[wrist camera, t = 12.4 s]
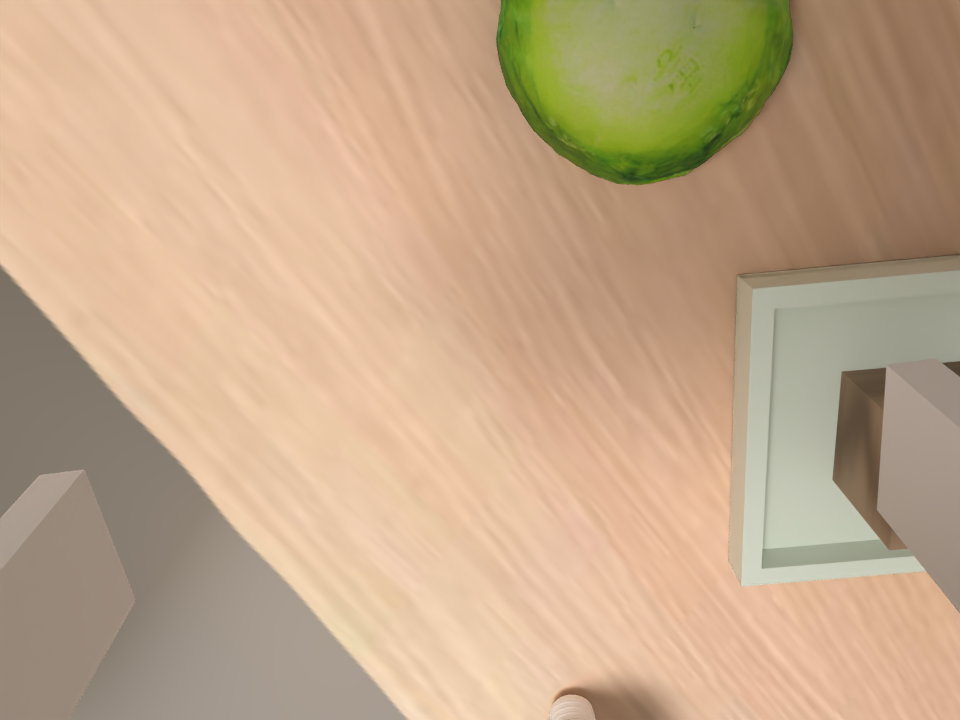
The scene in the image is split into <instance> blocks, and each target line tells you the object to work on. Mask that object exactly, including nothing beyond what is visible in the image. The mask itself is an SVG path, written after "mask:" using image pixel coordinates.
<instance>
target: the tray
mask: <svg viewBox="0 0 960 720" xmlns="http://www.w3.org/2000/svg"><path fill="white" fill-rule="evenodd" d="M935 358H936V359H937V360H938V361H940V362H941V363H945V362H956V361H960V255H950V256H939V257H928V258H917V259H906V260H895V261H884V262H873V263H862V264H851V265H840V266H829V267H818V268H807V269H796V270H785V271H774V272H763V273H752V274H741V275H737V300H736V332H735V364H734V396H733V428H732V460H731V492H730V524H729V556H728V561H729V563H730V565H731V567H732V569H733V571H734V573H735V575H736V577H737V579H738V581H739V583H740V585H741V587H742V586H754V585H766V584H778V583H790V582H802V581H814V580H826V579H838V578H850V577H862V576H874V575H886V574H898V573H910V572H922V571H926V570H925V569H924V568H923V567H922V565H921V564H920V563H919V562H918V560H917V559H916V558H915V557H914V555H913V554H912V553H911V552H910V550H909V549H899V550H889V549H888V548H887V547H886V546H885V544H884V543H883V542H882V541H881V540H880V538H879V537H878V536H877V535H876V533H875V532H874V531H873V530H872V528H871V527H870V526H869V525H868V523H867V522H866V521H865V520H864V518H863V517H862V516H861V515H860V514H859V512H858V511H857V510H856V509H855V507H854V506H853V505H852V504H851V502H850V501H849V500H848V499H847V497H846V496H845V495H844V494H843V492H842V491H841V490H840V489H839V487H838V486H837V485H836V484H835V483H834V481H833V480H832V478H833V466H834V455H835V443H836V432H837V420H838V408H839V397H840V385H841V374H842V371H854V370H865V369H876V368H886V365H889V364H897V363H904V362H912V361H920V360H927V359H935Z"/></svg>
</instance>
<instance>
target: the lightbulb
mask: <svg viewBox="0 0 960 720" xmlns="http://www.w3.org/2000/svg"><path fill="white" fill-rule="evenodd" d="M549 714H550V715H549V719H550V720H596V719H595V714H594V712H593V708H592V705H591V704H590V702H589V701H588V700H587V699H585V698H583V697H581V696H578V695H565V696H562V697H560V698H558V699H557V700H556V701H555V702H554V703H553V704H552V706H551V708H550V713H549Z"/></svg>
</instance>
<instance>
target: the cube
mask: <svg viewBox="0 0 960 720" xmlns="http://www.w3.org/2000/svg"><path fill="white" fill-rule="evenodd" d="M942 364H944V365H945V366H946V367H948V368H949V369H950V370H952V371H953V372H954V373H956V374H957V375H958V376H959V377H960V361H956V362H945V363H942ZM885 380H886V368H876V369H865V370H854V371H842V374H841V385H840V397H839V408H838V420H837V432H836V443H835V455H834V466H833V478H832V480H833V481H834V483H835V484H836V485H837V486H838V487H839V489H840V490H841V491H842V492H843V494H844V495H845V496H846V497H847V499H848V500H849V501H850V502H851V504H852V505H853V506H854V507H855V509H856V510H857V511H858V512H859V514H860V515H861V516H862V517H863V518H864V520H865V521H866V522H867V523H868V525H869V526H870V527H871V528H872V530H873V531H874V532H875V533H876V535H877V536H878V537H879V538H880V540H881V541H882V542H883V543H884V544H885V546H886V547H887V548H888V549H889V550H899V549H908V548H907V547H906V545H905V544H904V543H903V542H902V540H901V539H900V538H899V537H898V535H897V534H896V533H895V532H894V530H893V529H892V528H891V527H890V526H889V524H888V523H887V522H886V521H885V519H884V518H883V517H882V516H881V514H880V513H879V512H878V511H877V501H878V486H879V471H880V456H881V441H882V425H883V410H884V395H885Z"/></svg>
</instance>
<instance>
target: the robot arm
mask: <svg viewBox="0 0 960 720" xmlns="http://www.w3.org/2000/svg"><path fill="white" fill-rule="evenodd" d="M877 511H878V512H879V513H880V514H881V516H882V517H883V518H884V519H885V521H886V522H887V523H888V524H889V526H890V527H891V528H892V529H893V530H894V532H895V533H896V534H897V535H898V537H899V538H900V539H901V540H902V542H903V543H904V544H905V545H906V547H907V548H908V549H909V550H910V552H911V553H912V554H913V555H914V557H915V558H916V559H917V560H918V562H919V563H920V564H921V565H922V567H923V568H924V569H925V570H926V572H927V573H928V574H929V575H930V577H931V578H932V579H933V580H934V581H935V583H936V584H937V585H938V586H939V588H940V589H941V590H942V591H943V593H944V594H945V595H946V596H947V598H948V599H949V600H950V601H951V603H952V604H953V605H954V606H955V608H956V609H957V610H958V611H959V613H960V377H959V376H958V375H957V374H956V373H954V372H953V371H952V370H950V369H949V368H948V367H946V366H945V365H944V364H942V363H941V362H940V361H938V360H937V359H936V358H935V359H927V360H920V361H912V362H904V363H897V364H889V365H886V380H885V395H884V410H883V425H882V441H881V456H880V471H879V486H878V501H877ZM135 601H136V600H135V597H134V595H133V592H132V590H131V587H130V585H129V582H128V580H127V577H126V575H125V572H124V569H123V567H122V565H121V562H120V559H119V557H118V554H117V552H116V549H115V547H114V544H113V542H112V539H111V536H110V534H109V531H108V529H107V526H106V523H105V521H104V518H103V516H102V513H101V511H100V508H99V506H98V503H97V501H96V498H95V495H94V493H93V490H92V488H91V485H90V483H89V480H88V478H87V475H86V473H85V470H84V469H83V470H76V471H68V472H61V473H53V474H45V475H39V477H38V478H37V479H36V480H35V481H34V482H33V483H32V484H31V485H30V486H29V488H28V489H27V490H26V491H25V492H24V493H23V494H22V495H21V496H20V498H19V499H17V501H16V502H15V503H14V504H13V505H12V506H11V507H10V508H9V509H8V510H7V512H6V513H5V514H4V515H3V516H2V517H1V518H0V720H69V718H70V717H71V715H72V713H73V711H74V709H75V708H76V706H77V704H78V702H79V701H80V699H81V697H82V695H83V693H84V691H85V690H86V688H87V686H88V684H89V683H90V681H91V679H92V677H93V676H94V674H95V672H96V670H97V668H98V667H99V665H100V663H101V661H102V660H103V658H104V656H105V654H106V652H107V651H108V649H109V647H110V645H111V643H112V642H113V640H114V638H115V636H116V635H117V633H118V631H119V629H120V627H121V626H122V624H123V622H124V620H125V618H126V617H127V615H128V613H129V611H130V610H131V608H132V606H133V604H134V602H135Z"/></svg>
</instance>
